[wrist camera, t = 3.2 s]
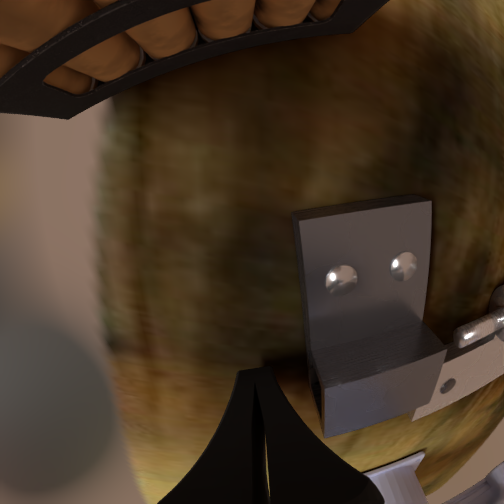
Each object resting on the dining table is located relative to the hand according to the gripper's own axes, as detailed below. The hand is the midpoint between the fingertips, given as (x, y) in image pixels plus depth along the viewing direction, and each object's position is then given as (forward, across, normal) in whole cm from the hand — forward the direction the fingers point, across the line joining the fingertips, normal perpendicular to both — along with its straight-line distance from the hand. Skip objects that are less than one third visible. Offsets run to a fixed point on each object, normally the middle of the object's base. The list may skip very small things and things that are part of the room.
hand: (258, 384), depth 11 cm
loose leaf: (+1, -5, -2) cm, 5 cm away
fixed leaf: (+1, -13, +2) cm, 13 cm away
